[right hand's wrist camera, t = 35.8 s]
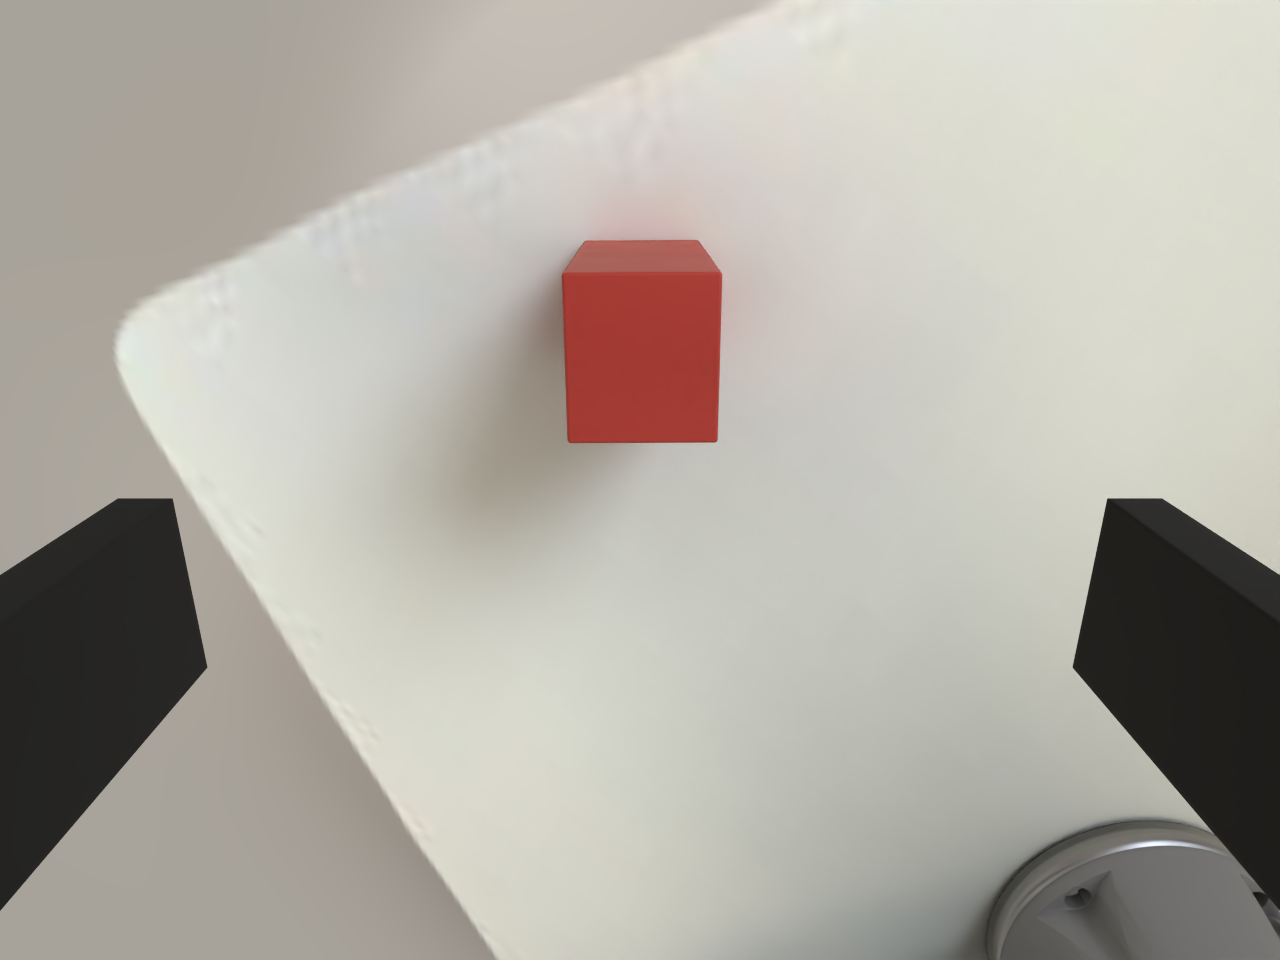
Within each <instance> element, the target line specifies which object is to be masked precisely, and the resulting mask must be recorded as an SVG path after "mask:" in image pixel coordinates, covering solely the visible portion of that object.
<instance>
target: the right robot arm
mask: <svg viewBox="0 0 1280 960" xmlns="http://www.w3.org/2000/svg"><path fill="white" fill-rule="evenodd" d="M206 668H207V664H206V659H205V654H204V649H203V644H202V639H201V634H200V630H199V625H198V620H197V615H196V610H195V605H194V600H193V595H192V591H191V586H190V581H189V576H188V571H187V567H186V562H185V557H184V552H183V547H182V542H181V537H180V532H179V527H178V523H177V518H176V513H175V508H174V503H173V499H117V500H115V501H114V502H112V503H110V504H109V505H107V506H106V507H104V508H103V509H101V510H100V511H98V512H97V513H95V514H93V515H92V516H90V517H89V518H87V519H86V520H84V521H83V522H81V523H80V524H78V525H77V526H75V527H74V528H72V529H70V530H69V531H67V532H66V533H64V534H63V535H61V536H60V537H58V538H57V539H55V540H53V541H52V542H50V543H49V544H47V545H46V546H44V547H43V548H41V549H40V550H38V551H37V552H35V553H33V554H32V555H30V556H29V557H27V558H26V559H24V560H23V561H21V562H20V563H18V564H17V565H15V566H14V567H12V568H10V569H9V570H7V571H6V572H4V573H3V574H1V575H0V910H1V909H2V908H3V907H4V906H5V904H6V903H7V902H8V901H9V900H10V899H11V897H12V896H13V895H14V894H15V893H16V892H17V890H18V889H19V888H20V887H21V886H22V884H23V883H24V882H25V881H26V880H27V879H28V877H29V876H30V875H31V874H32V873H33V872H34V870H35V869H36V868H37V867H38V866H39V865H40V863H41V862H42V861H43V860H44V859H45V857H46V856H47V855H48V854H49V853H50V852H51V850H52V849H53V848H54V847H55V846H56V845H57V843H58V842H59V841H60V840H61V839H62V838H63V836H64V835H65V834H66V833H67V832H68V830H69V829H70V828H71V827H72V826H73V825H74V823H75V822H76V821H77V820H78V819H79V818H80V816H81V815H82V814H83V813H84V812H85V810H86V809H87V808H88V807H89V806H90V805H91V803H92V802H93V801H94V800H95V799H96V797H97V796H98V795H99V794H100V793H101V792H102V791H103V789H104V788H105V787H106V786H107V785H108V783H109V782H110V781H111V780H112V779H113V778H114V776H115V775H116V774H117V773H118V772H119V771H120V769H121V768H122V767H123V766H124V765H125V764H126V762H127V761H128V760H129V759H130V758H131V756H132V755H133V754H134V753H135V752H136V751H137V749H138V748H139V747H140V746H141V745H142V744H143V742H144V741H145V740H146V739H147V738H148V736H149V735H150V734H151V733H152V732H153V731H154V729H155V728H156V727H157V726H158V725H159V724H160V722H161V721H162V720H163V719H164V718H165V717H166V715H167V714H168V713H169V712H170V711H171V709H172V708H173V707H174V706H175V705H176V704H177V702H178V701H179V700H180V699H181V698H182V697H183V695H184V694H185V693H186V692H187V691H188V690H189V688H190V687H191V686H192V685H193V684H194V682H195V681H196V680H197V679H198V678H199V677H200V675H201V674H202V673H203V672H204V671H205V670H206ZM1073 668H1074V670H1075V671H1076V672H1077V673H1078V674H1079V675H1080V677H1081V678H1082V679H1083V680H1084V681H1085V682H1086V684H1087V685H1088V686H1089V687H1090V688H1091V690H1092V691H1093V692H1094V693H1095V694H1096V695H1097V697H1098V698H1099V699H1100V700H1101V701H1102V702H1103V704H1104V705H1105V706H1106V707H1107V708H1108V709H1109V711H1110V712H1111V713H1112V714H1113V715H1114V717H1115V718H1116V719H1117V720H1118V721H1119V722H1120V724H1121V725H1122V726H1123V727H1124V728H1125V729H1126V731H1127V732H1128V733H1129V734H1130V735H1131V737H1132V738H1133V739H1134V740H1135V741H1136V742H1137V744H1138V745H1139V746H1140V747H1141V748H1142V749H1143V751H1144V752H1145V753H1146V754H1147V755H1148V756H1149V758H1150V759H1151V760H1152V761H1153V762H1154V764H1155V765H1156V766H1157V767H1158V768H1159V769H1160V771H1161V772H1162V773H1163V774H1164V775H1165V776H1166V778H1167V779H1168V780H1169V781H1170V782H1171V783H1172V785H1173V786H1174V787H1175V788H1176V789H1177V791H1178V792H1179V793H1180V794H1181V795H1182V796H1183V798H1184V799H1185V800H1186V801H1187V802H1188V803H1189V805H1190V806H1191V807H1192V808H1193V809H1194V811H1195V812H1196V813H1197V814H1198V815H1199V816H1200V818H1201V819H1202V820H1203V821H1204V822H1205V823H1206V825H1207V826H1208V827H1209V828H1210V829H1211V830H1212V832H1213V833H1214V834H1215V835H1216V836H1217V837H1216V836H1215V835H1212V834H1210V833H1208V832H1206V831H1203V830H1201V829H1198V828H1195V827H1191V826H1187V825H1183V824H1178V823H1171V822H1162V821H1136V822H1125V823H1119V824H1113V825H1108V826H1104V827H1100V828H1096V829H1093V830H1090V831H1087V832H1084V833H1081V834H1079V835H1076V836H1074V837H1071V838H1069V839H1067V840H1065V841H1063V842H1061V843H1059V844H1057V845H1055V846H1054V847H1052V848H1050V849H1049V850H1047V851H1045V852H1044V853H1042V854H1041V855H1040V856H1038V857H1037V858H1035V859H1034V860H1033V861H1032V862H1030V863H1029V864H1028V865H1027V866H1025V867H1024V868H1023V869H1022V870H1021V871H1020V872H1019V873H1018V874H1017V875H1016V876H1015V877H1014V878H1013V880H1012V881H1011V882H1010V883H1009V884H1008V886H1007V887H1006V888H1005V890H1004V891H1003V893H1002V894H1001V896H1000V897H999V899H998V901H997V903H996V905H995V907H994V909H993V912H992V914H991V917H990V921H989V924H988V930H987V943H986V944H987V954H988V958H989V960H1280V911H1279V910H1280V575H1279V574H1277V573H1276V572H1274V571H1273V570H1271V569H1270V568H1268V567H1267V566H1265V565H1263V564H1262V563H1260V562H1259V561H1257V560H1256V559H1254V558H1253V557H1251V556H1250V555H1248V554H1247V553H1245V552H1243V551H1242V550H1240V549H1239V548H1237V547H1236V546H1234V545H1233V544H1231V543H1230V542H1228V541H1227V540H1225V539H1223V538H1222V537H1220V536H1219V535H1217V534H1216V533H1214V532H1213V531H1211V530H1210V529H1208V528H1207V527H1205V526H1203V525H1202V524H1200V523H1199V522H1197V521H1196V520H1194V519H1193V518H1191V517H1190V516H1188V515H1187V514H1185V513H1183V512H1182V511H1180V510H1179V509H1177V508H1176V507H1174V506H1173V505H1171V504H1170V503H1168V502H1167V501H1165V500H1163V499H1107V503H1106V508H1105V513H1104V518H1103V523H1102V527H1101V532H1100V537H1099V542H1098V547H1097V552H1096V557H1095V561H1094V566H1093V571H1092V576H1091V581H1090V586H1089V591H1088V595H1087V600H1086V605H1085V610H1084V615H1083V620H1082V625H1081V629H1080V634H1079V639H1078V644H1077V649H1076V654H1075V659H1074V663H1073Z"/></svg>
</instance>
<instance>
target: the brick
mask: <svg viewBox="0 0 1280 960" xmlns="http://www.w3.org/2000/svg"><path fill="white" fill-rule="evenodd" d="M562 296H563V324H564V352H565V379H566V407H567V435H568V442H569V443H696V442H717V440H718V405H719V370H720V334H721V299H722V273H721V272H720V270H719V269H718V267H717V266H716V265H715V263H714V262H713V260H712V259H711V257H710V256H709V255H708V253H707V252H706V250H705V249H704V248H703V246H702V245H701V243H700V242H699V241H698V240H650V241H585V242H584V243H583V245H582V246H581V248H580V249H579V250H578V252H577V253H576V255H575V256H574V258H573V259H572V261H571V262H570V263H569V265H568V266H567V268H566V269H565V271H564V272H563V274H562Z"/></svg>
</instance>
